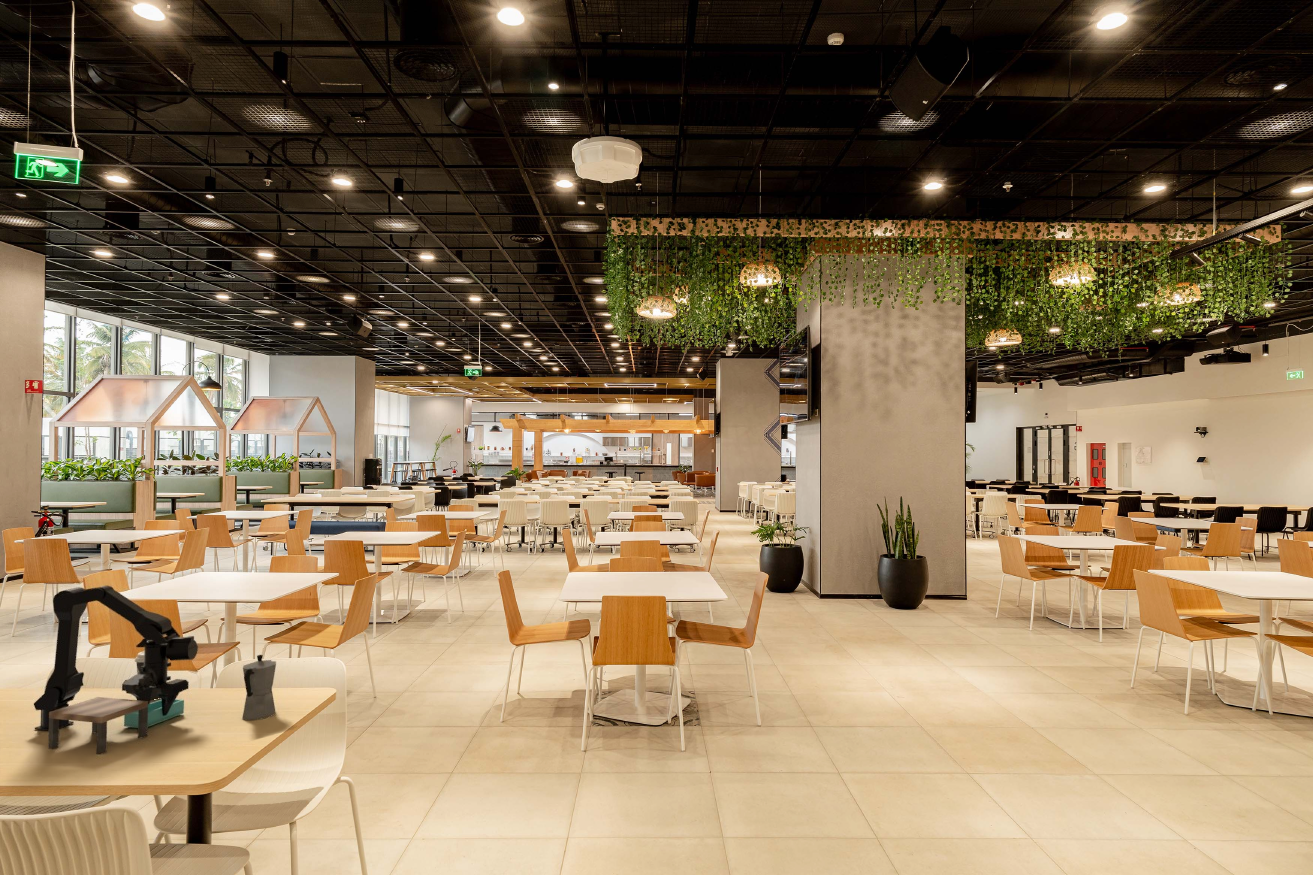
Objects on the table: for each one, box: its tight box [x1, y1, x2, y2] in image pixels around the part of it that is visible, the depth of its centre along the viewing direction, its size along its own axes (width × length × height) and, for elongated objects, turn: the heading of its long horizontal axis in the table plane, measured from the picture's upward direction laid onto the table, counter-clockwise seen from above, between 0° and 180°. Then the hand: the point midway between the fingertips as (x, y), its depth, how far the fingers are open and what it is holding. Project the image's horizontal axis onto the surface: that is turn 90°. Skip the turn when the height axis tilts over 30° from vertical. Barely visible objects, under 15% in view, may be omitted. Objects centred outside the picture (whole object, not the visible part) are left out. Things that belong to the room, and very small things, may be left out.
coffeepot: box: [242, 654, 277, 721], centre depth 213 cm, size 15×9×18 cm, turn 6°
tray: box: [123, 698, 185, 729], centre depth 210 cm, size 7×13×4 cm, turn 166°
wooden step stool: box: [47, 696, 149, 755], centre depth 194 cm, size 18×13×10 cm
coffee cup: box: [134, 650, 162, 701], centre depth 231 cm, size 10×10×15 cm
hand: (154, 714), depth 210 cm, fingers open, 7 cm apart
